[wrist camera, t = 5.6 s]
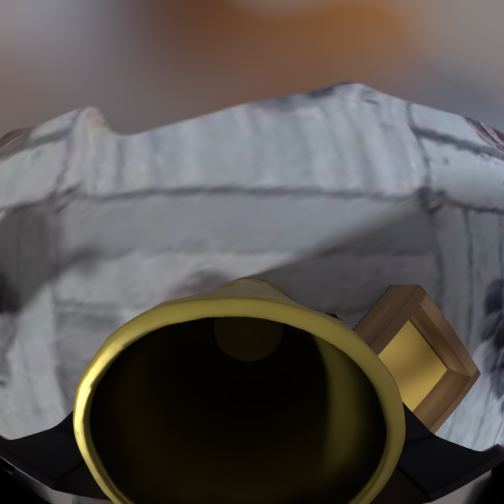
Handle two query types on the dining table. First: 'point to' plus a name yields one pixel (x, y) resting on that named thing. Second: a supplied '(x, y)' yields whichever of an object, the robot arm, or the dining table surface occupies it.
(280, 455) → the vase
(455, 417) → the dining table surface
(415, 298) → the rack
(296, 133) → the dining table surface
